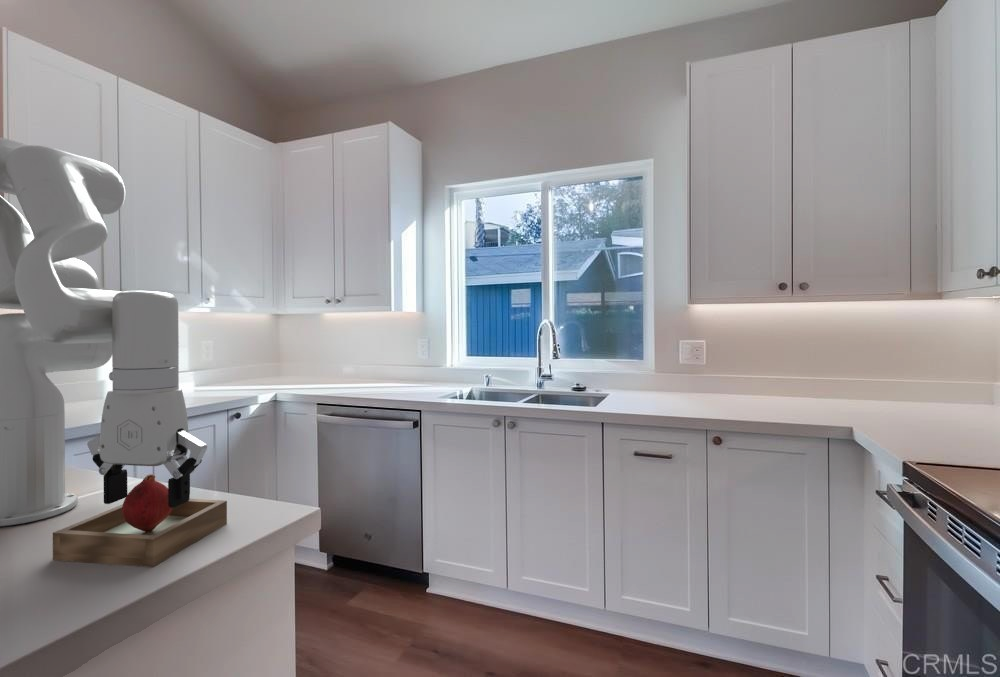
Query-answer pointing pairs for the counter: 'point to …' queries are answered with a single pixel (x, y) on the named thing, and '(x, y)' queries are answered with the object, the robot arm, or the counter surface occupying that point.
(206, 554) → the counter surface
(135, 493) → the dark red round piece
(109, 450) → the robot arm
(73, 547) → the tray
